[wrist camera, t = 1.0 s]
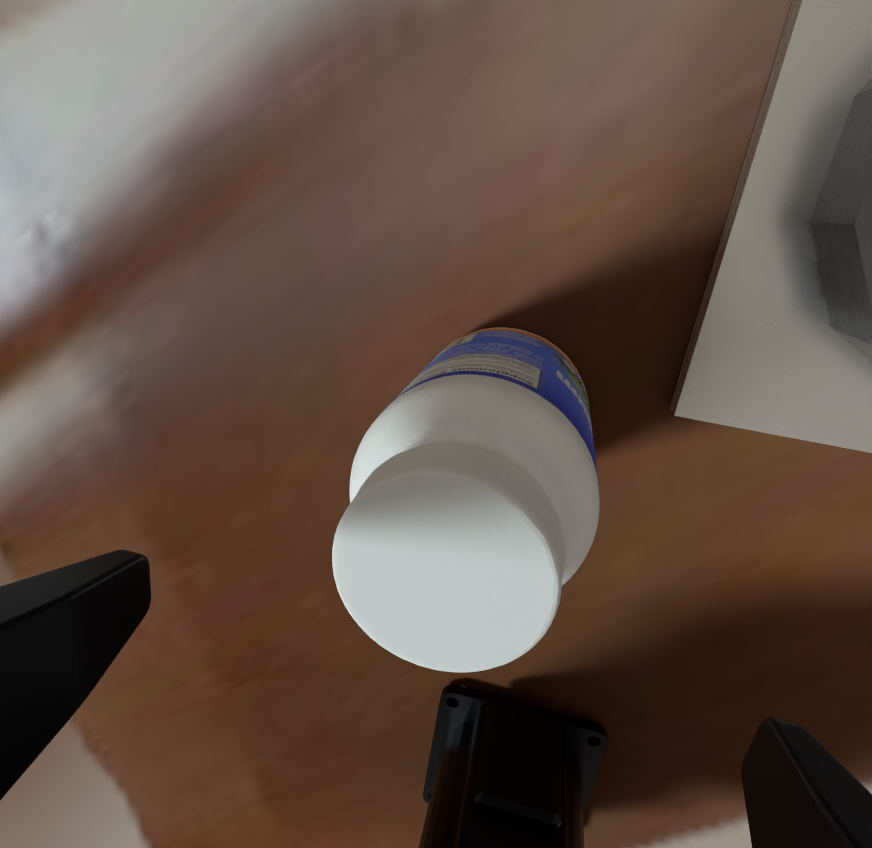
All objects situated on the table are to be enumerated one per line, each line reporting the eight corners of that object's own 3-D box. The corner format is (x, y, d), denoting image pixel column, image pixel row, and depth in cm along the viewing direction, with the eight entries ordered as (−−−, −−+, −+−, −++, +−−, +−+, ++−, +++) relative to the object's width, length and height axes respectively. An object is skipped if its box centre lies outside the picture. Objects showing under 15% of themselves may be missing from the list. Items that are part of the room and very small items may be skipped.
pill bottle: (587, 483, 19) (610, 727, 10) (428, 480, 20) (318, 695, 11) (589, 318, 17) (619, 431, 8) (414, 326, 18) (269, 432, 9)
